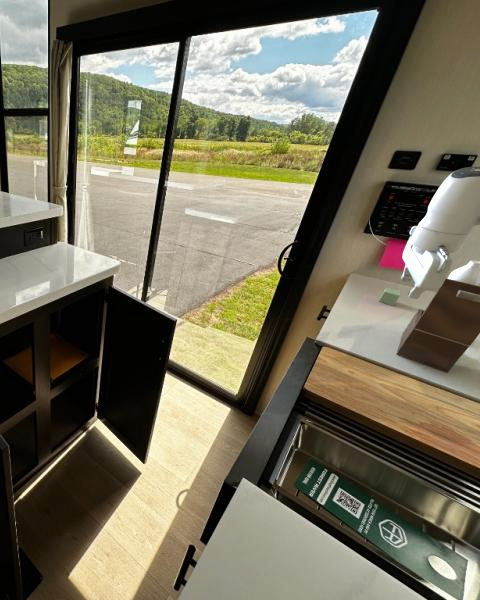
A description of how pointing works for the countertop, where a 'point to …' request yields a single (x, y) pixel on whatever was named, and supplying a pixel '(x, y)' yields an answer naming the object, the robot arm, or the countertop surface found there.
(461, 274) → the water bottle
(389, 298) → the block
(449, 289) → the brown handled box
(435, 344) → the chest
